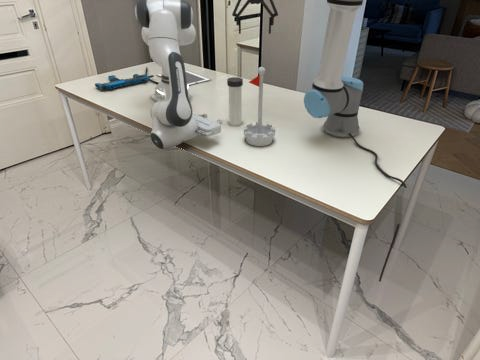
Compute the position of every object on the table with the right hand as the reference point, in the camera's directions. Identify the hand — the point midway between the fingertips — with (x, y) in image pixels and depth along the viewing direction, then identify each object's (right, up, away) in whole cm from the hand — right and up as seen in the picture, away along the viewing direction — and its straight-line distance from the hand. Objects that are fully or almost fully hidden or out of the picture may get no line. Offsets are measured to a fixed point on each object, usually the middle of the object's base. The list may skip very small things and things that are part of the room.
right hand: (254, 33), depth 154 cm
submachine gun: (-78, -7, +55) cm, 96 cm away
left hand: (-18, -40, -9) cm, 45 cm away
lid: (-9, -24, -8) cm, 27 cm away
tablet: (-43, -1, +63) cm, 76 cm away
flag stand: (+1, -50, -12) cm, 52 cm away
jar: (-9, -40, +3) cm, 42 cm away
